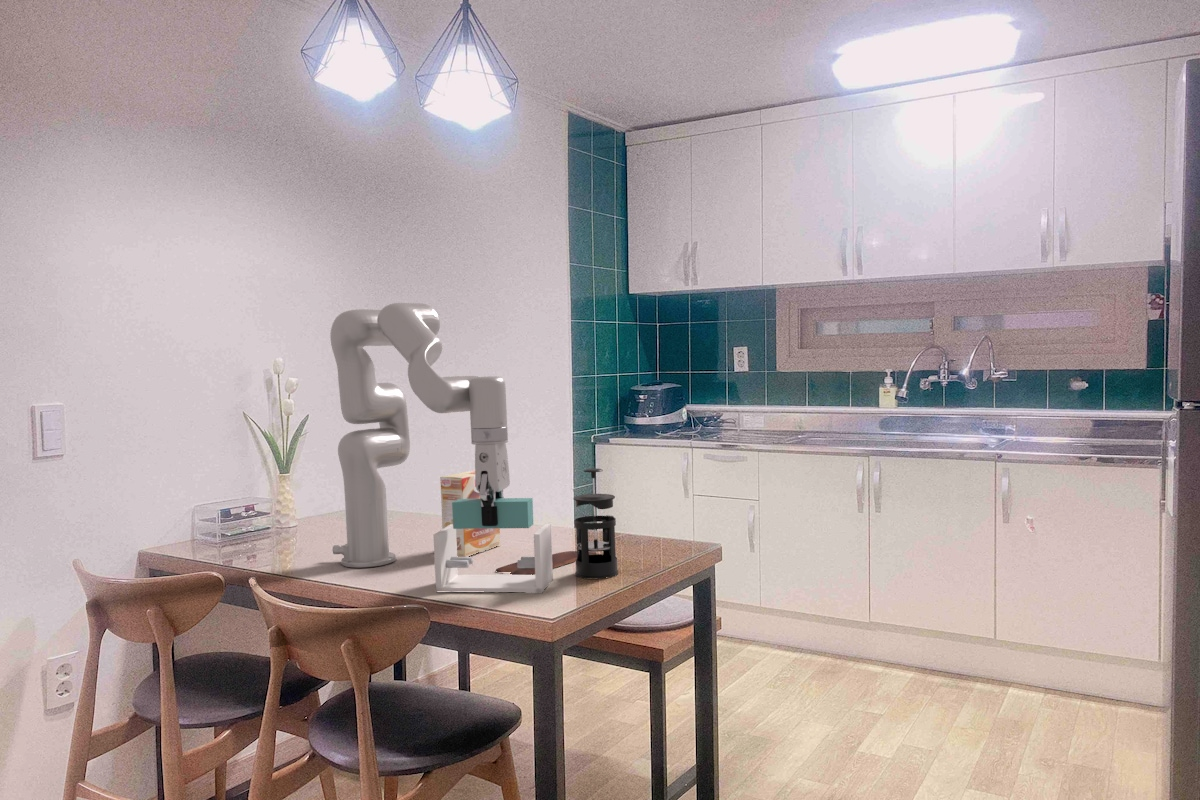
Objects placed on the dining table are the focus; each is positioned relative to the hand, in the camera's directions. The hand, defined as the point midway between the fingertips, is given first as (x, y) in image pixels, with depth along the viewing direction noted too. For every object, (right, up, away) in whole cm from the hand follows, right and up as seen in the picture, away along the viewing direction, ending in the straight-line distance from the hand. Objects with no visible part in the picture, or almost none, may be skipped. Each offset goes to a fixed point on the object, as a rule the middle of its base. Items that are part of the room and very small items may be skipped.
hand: (493, 522), depth 188 cm
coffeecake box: (-9, -12, +36) cm, 39 cm away
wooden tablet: (+11, -13, +20) cm, 26 cm away
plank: (0, -1, 0) cm, 1 cm away
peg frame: (0, -13, +1) cm, 13 cm away
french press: (+22, -12, +9) cm, 27 cm away
